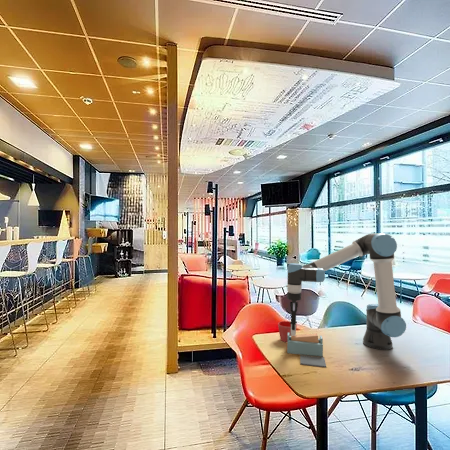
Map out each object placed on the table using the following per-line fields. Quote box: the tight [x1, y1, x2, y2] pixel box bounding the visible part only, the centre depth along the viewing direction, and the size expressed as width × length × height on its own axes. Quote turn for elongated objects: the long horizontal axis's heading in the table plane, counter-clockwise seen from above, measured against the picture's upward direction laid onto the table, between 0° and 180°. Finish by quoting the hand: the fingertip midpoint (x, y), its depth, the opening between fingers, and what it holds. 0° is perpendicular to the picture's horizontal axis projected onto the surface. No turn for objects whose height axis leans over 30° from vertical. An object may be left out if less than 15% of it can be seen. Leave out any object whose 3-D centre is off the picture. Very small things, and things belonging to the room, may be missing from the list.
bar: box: [291, 332, 319, 343], centre depth 159 cm, size 14×4×4 cm, turn 77°
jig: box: [286, 333, 324, 357], centre depth 159 cm, size 18×9×9 cm, turn 77°
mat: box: [299, 354, 327, 368], centre depth 147 cm, size 12×10×1 cm
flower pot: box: [277, 320, 298, 343], centre depth 176 cm, size 11×11×10 cm
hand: (293, 335), depth 161 cm, fingers closed
